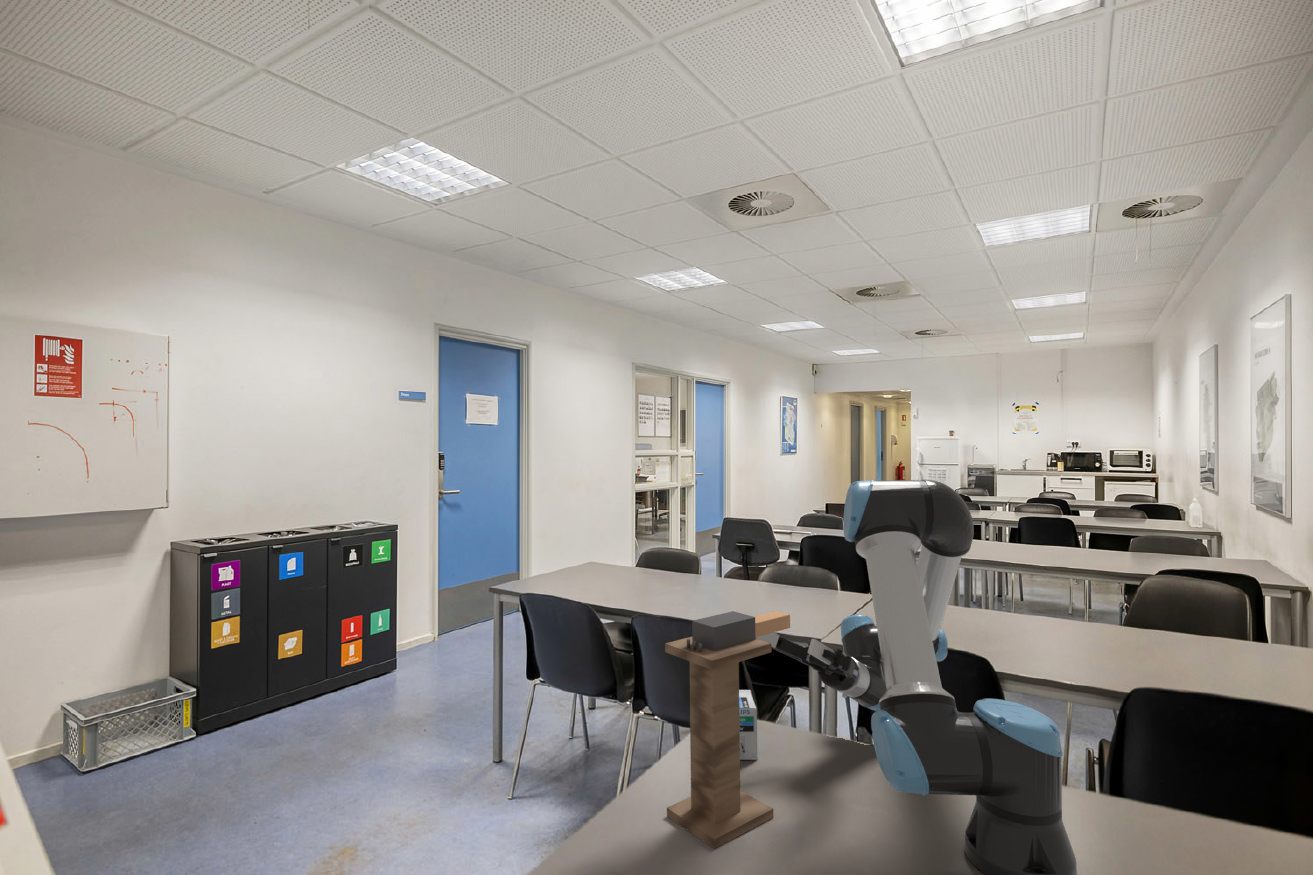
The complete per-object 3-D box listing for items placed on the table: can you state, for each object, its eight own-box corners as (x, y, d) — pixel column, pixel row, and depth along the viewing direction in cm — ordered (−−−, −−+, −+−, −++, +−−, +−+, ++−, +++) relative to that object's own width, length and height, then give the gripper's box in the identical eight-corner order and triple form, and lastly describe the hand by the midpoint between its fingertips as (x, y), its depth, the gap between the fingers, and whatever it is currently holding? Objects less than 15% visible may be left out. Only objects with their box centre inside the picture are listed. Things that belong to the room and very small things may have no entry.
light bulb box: (758, 760, 136) (757, 707, 136) (725, 761, 136) (724, 707, 136) (752, 737, 146) (751, 688, 146) (721, 737, 146) (720, 688, 147)
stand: (773, 817, 115) (771, 635, 115) (714, 848, 106) (712, 651, 107) (724, 789, 124) (722, 621, 125) (666, 816, 116) (664, 635, 116)
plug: (794, 628, 124) (794, 607, 124) (714, 651, 111) (713, 627, 111) (772, 622, 128) (771, 602, 128) (692, 643, 116) (692, 620, 116)
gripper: (891, 709, 127) (830, 674, 116) (790, 674, 147) (730, 641, 136) (902, 671, 129) (843, 632, 118) (801, 641, 149) (742, 606, 138)
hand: (782, 637), depth 127 cm, fingers open, 13 cm apart
